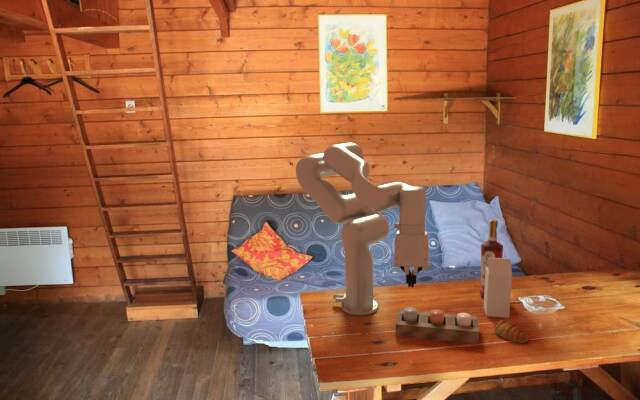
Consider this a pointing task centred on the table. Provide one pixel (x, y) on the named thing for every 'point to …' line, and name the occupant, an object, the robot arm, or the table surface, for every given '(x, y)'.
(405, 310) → the grey rounded block
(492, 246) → the liquor
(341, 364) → the table surface
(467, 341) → the console
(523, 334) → the pastry
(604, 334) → the table surface
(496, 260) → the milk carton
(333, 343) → the table surface
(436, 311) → the brick key
